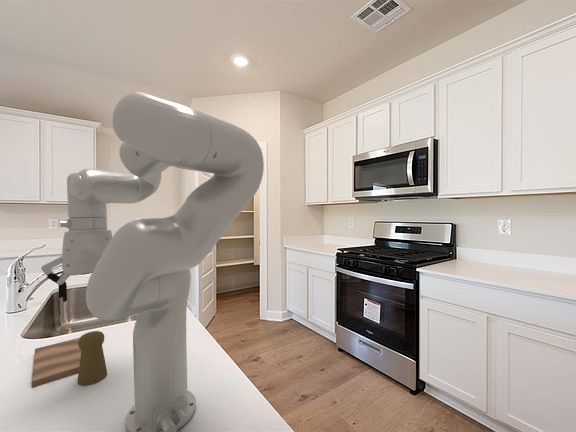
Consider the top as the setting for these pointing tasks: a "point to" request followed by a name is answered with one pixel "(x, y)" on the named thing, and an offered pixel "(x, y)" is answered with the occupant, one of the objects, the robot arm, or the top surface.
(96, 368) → the cork
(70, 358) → the walnut board
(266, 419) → the top surface
